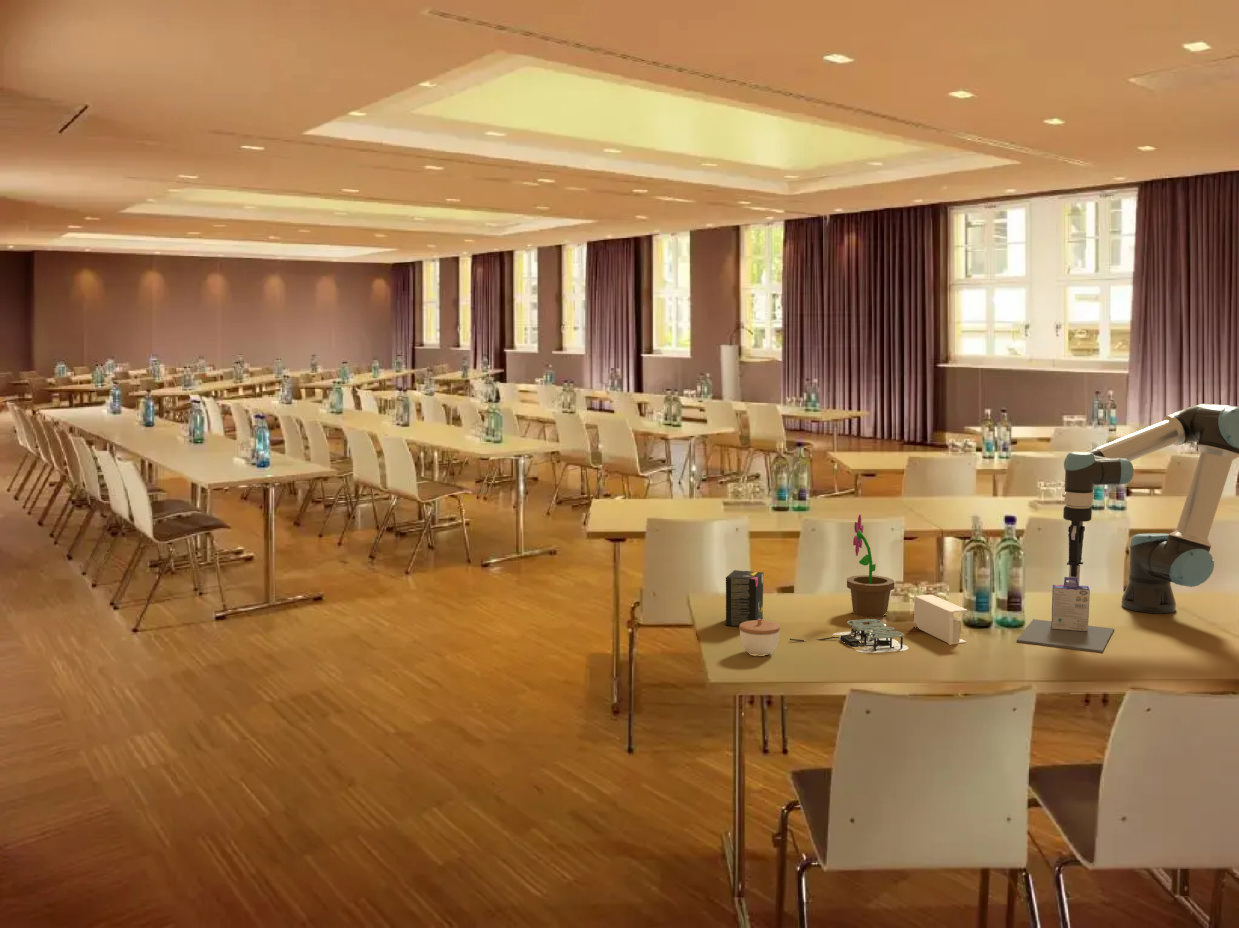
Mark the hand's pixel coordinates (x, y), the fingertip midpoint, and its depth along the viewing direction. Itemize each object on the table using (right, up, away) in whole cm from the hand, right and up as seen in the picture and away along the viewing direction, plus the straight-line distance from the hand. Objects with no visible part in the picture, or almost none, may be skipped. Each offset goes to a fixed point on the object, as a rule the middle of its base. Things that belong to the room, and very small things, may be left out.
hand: (1073, 586), depth 330 cm
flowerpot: (-55, -10, +17) cm, 59 cm away
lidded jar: (-94, -15, -24) cm, 98 cm away
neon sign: (-69, -15, -14) cm, 72 cm away
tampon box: (-94, -12, +7) cm, 95 cm away
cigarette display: (-41, -13, -6) cm, 43 cm away
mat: (-6, -13, -9) cm, 17 cm away
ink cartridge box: (-3, -12, -3) cm, 12 cm away
